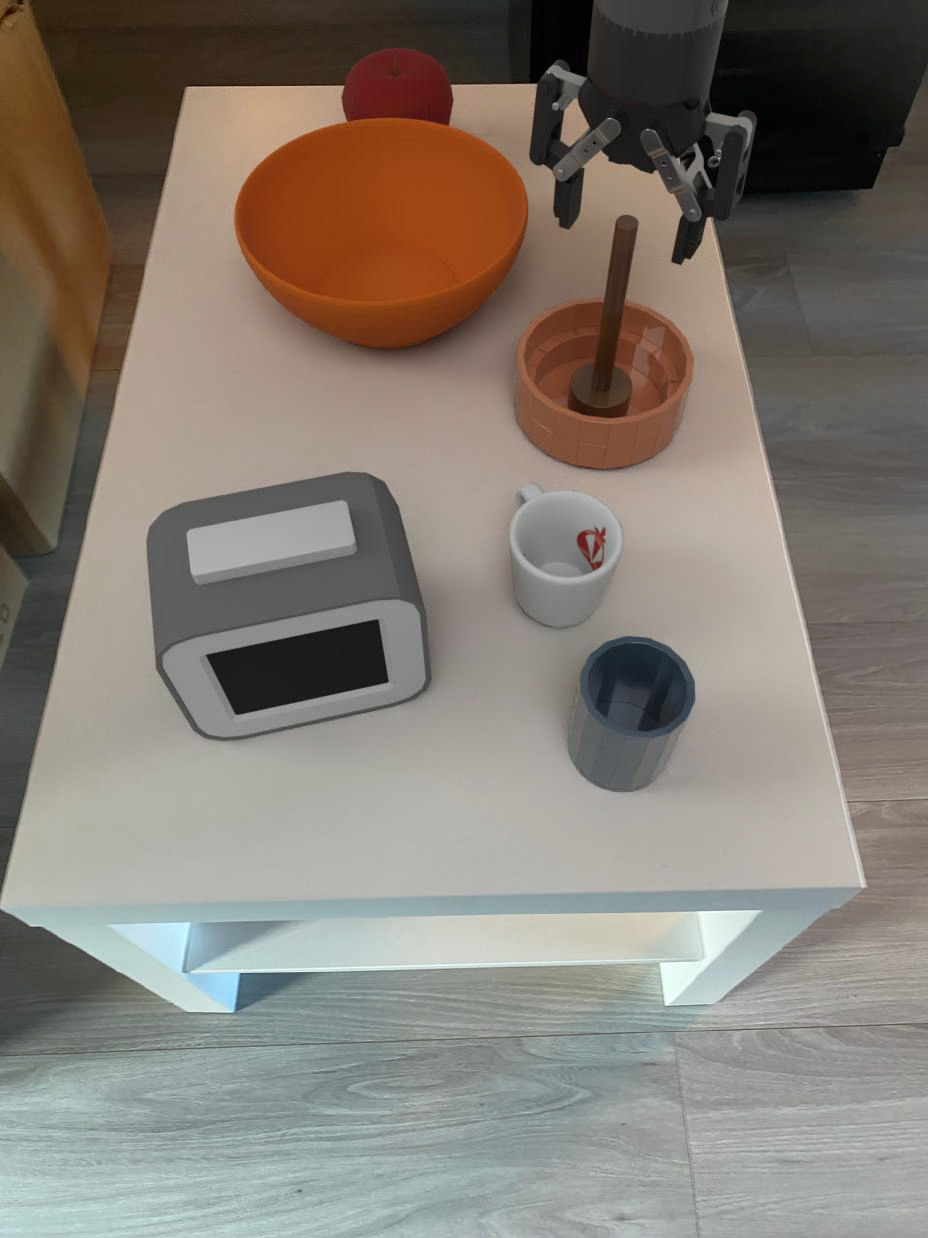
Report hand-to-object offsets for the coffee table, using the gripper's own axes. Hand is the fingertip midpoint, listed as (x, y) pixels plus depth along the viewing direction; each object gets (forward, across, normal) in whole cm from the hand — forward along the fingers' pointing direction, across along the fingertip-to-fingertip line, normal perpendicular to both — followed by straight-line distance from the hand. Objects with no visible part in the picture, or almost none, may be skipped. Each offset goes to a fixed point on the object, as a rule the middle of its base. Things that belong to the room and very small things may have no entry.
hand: (623, 239), depth 67 cm
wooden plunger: (+16, 0, 0) cm, 16 cm away
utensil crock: (+17, -14, +28) cm, 36 cm away
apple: (+17, +32, -22) cm, 43 cm away
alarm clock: (+17, +9, +32) cm, 37 cm away
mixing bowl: (+17, 0, 0) cm, 17 cm away
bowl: (+17, +23, -4) cm, 29 cm away
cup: (+17, -4, +18) cm, 25 cm away
